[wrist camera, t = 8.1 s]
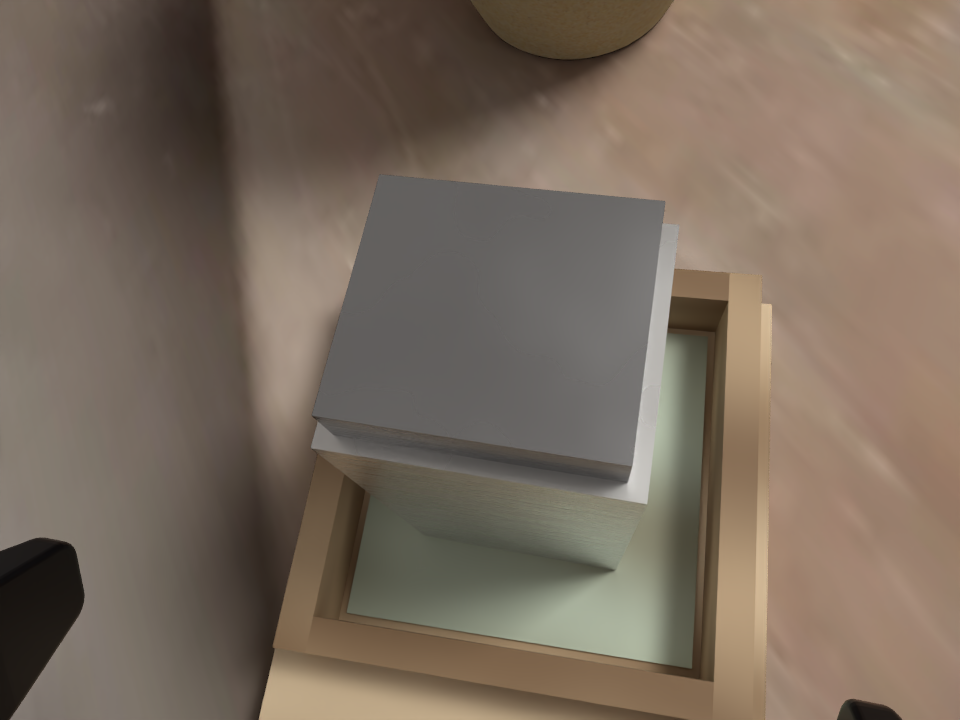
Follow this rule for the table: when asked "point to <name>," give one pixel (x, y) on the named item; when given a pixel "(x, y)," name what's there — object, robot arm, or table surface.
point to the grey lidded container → (503, 364)
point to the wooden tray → (559, 573)
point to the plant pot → (571, 24)
